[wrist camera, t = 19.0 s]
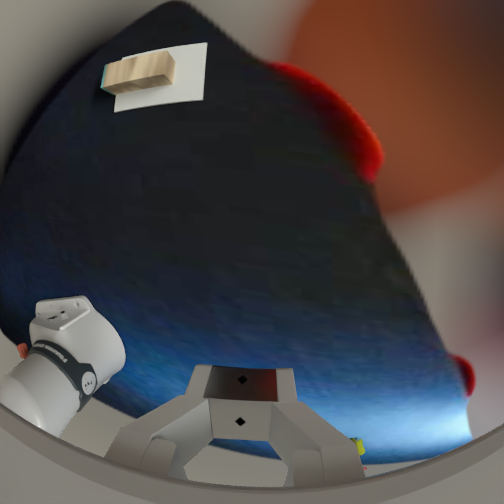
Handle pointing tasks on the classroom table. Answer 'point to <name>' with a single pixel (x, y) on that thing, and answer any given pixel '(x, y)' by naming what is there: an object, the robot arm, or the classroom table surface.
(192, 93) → the grey mat
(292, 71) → the classroom table surface
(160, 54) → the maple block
